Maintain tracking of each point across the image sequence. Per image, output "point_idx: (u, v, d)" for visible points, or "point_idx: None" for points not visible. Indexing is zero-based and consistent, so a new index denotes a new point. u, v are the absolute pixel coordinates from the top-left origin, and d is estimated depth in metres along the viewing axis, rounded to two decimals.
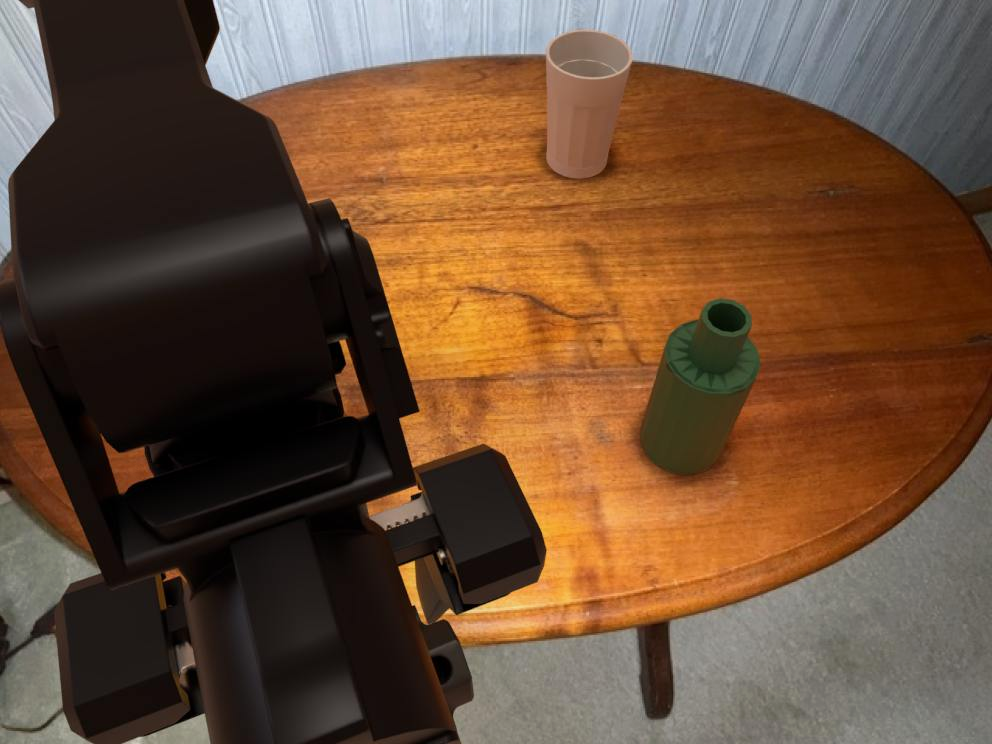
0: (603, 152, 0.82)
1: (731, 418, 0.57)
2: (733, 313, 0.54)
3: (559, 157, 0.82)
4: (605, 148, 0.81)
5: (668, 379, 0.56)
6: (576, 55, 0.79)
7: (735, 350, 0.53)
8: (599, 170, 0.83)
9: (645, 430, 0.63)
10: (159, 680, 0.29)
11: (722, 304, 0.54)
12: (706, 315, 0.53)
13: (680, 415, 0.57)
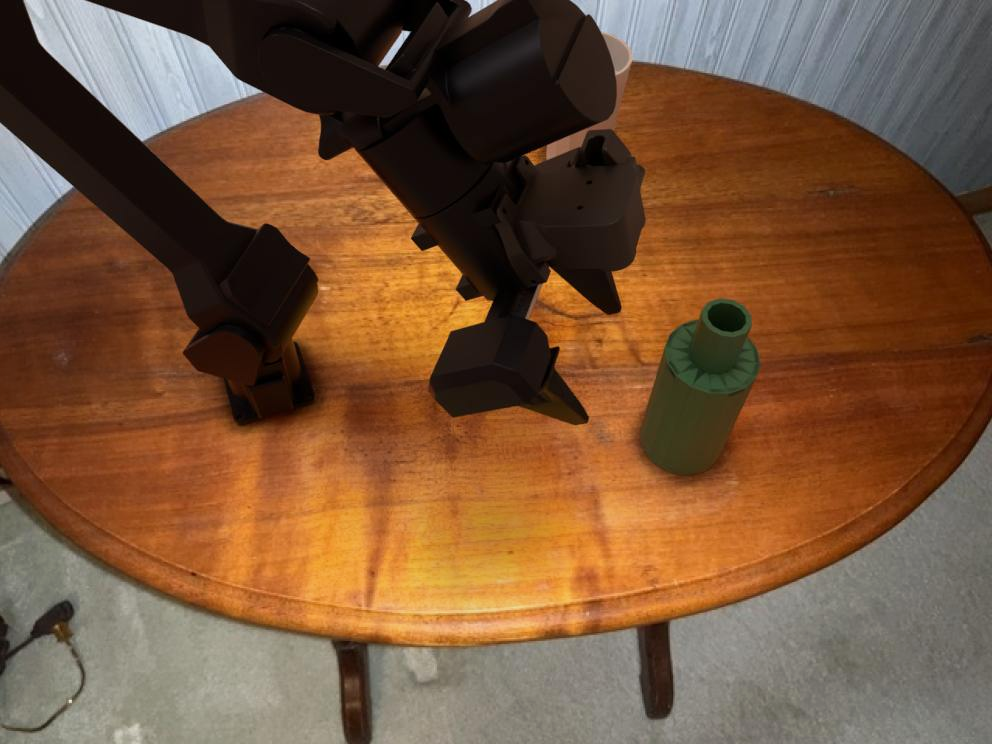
0: None
1: (731, 418, 0.57)
2: (733, 313, 0.54)
3: None
4: None
5: (668, 379, 0.56)
6: None
7: (735, 350, 0.53)
8: None
9: (645, 430, 0.63)
10: (513, 322, 0.42)
11: (722, 304, 0.54)
12: (706, 315, 0.53)
13: (680, 415, 0.57)
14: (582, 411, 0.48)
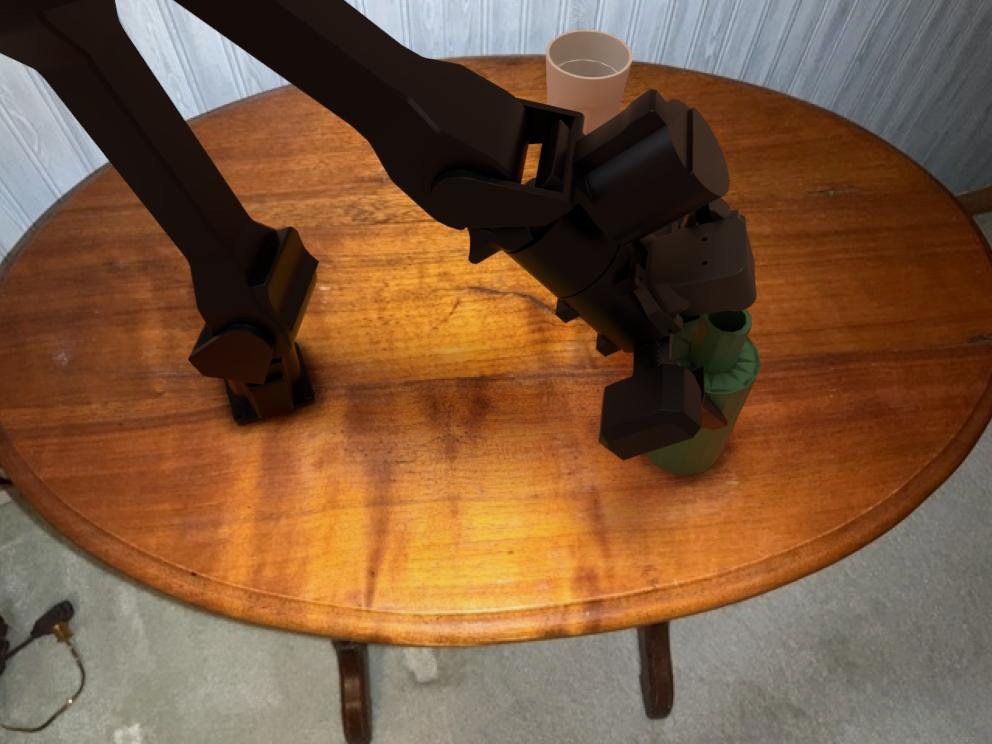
0: None
1: (731, 418, 0.57)
2: (734, 313, 0.54)
3: None
4: None
5: None
6: (576, 55, 0.79)
7: (735, 350, 0.53)
8: None
9: None
10: (666, 370, 0.49)
11: None
12: (706, 315, 0.53)
13: None
14: (722, 416, 0.56)
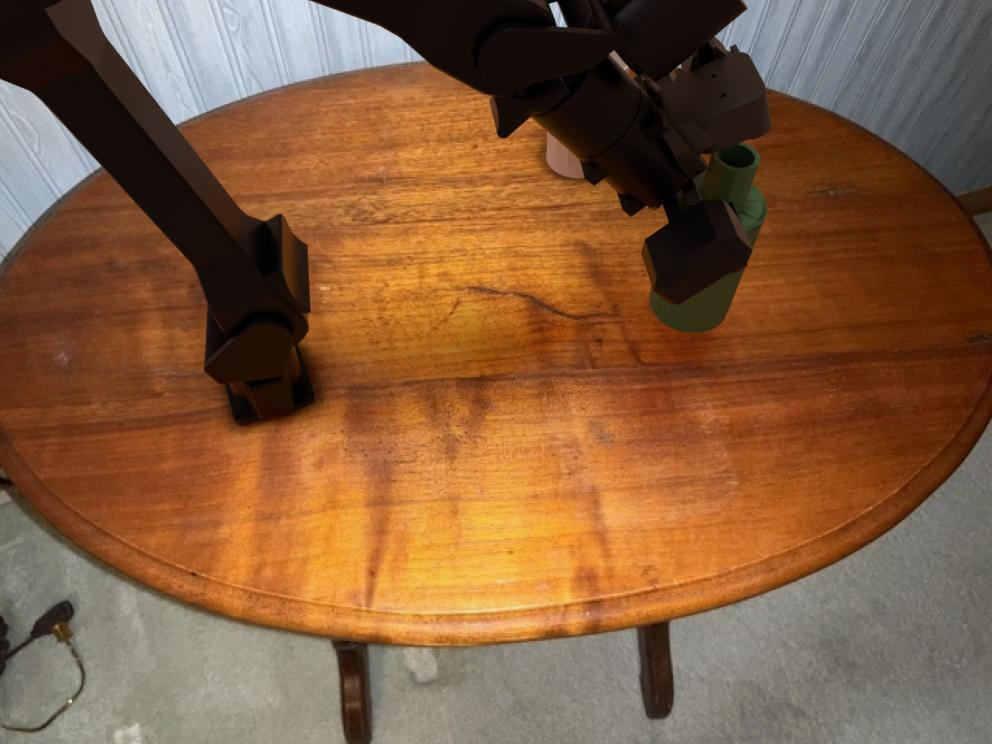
0: None
1: None
2: (738, 154, 0.56)
3: (559, 157, 0.82)
4: None
5: None
6: None
7: (748, 186, 0.56)
8: None
9: (659, 297, 0.65)
10: (707, 204, 0.50)
11: None
12: (718, 157, 0.55)
13: None
14: None
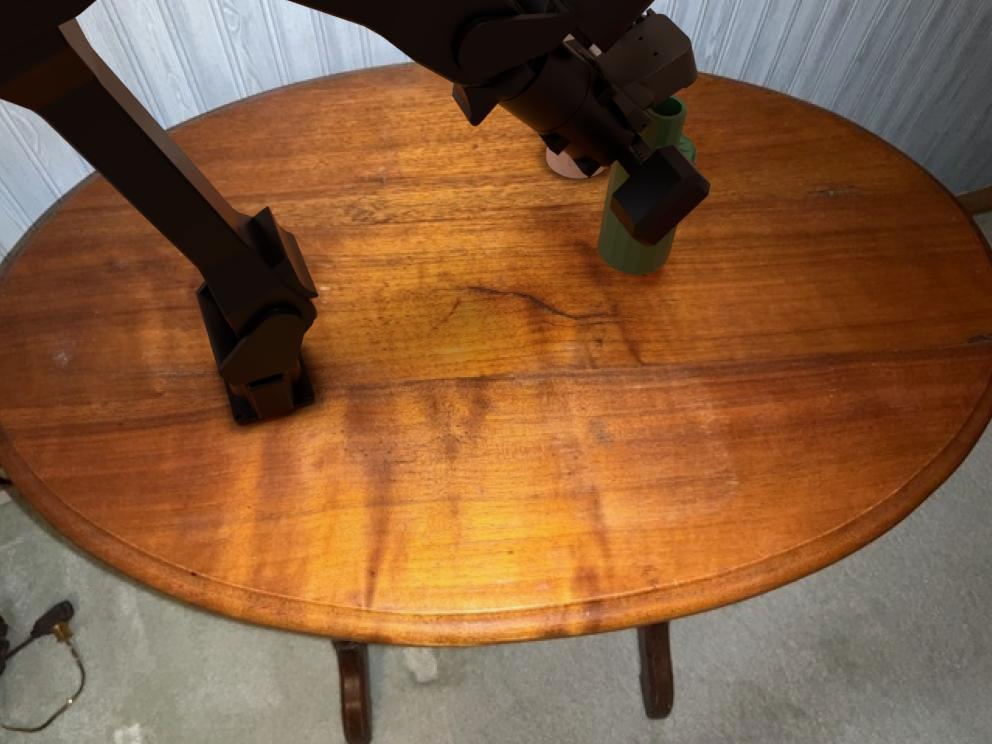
0: None
1: None
2: (664, 104, 0.63)
3: (559, 157, 0.82)
4: None
5: None
6: None
7: (680, 131, 0.63)
8: (599, 170, 0.83)
9: (612, 247, 0.71)
10: (663, 152, 0.56)
11: None
12: (651, 110, 0.61)
13: None
14: None
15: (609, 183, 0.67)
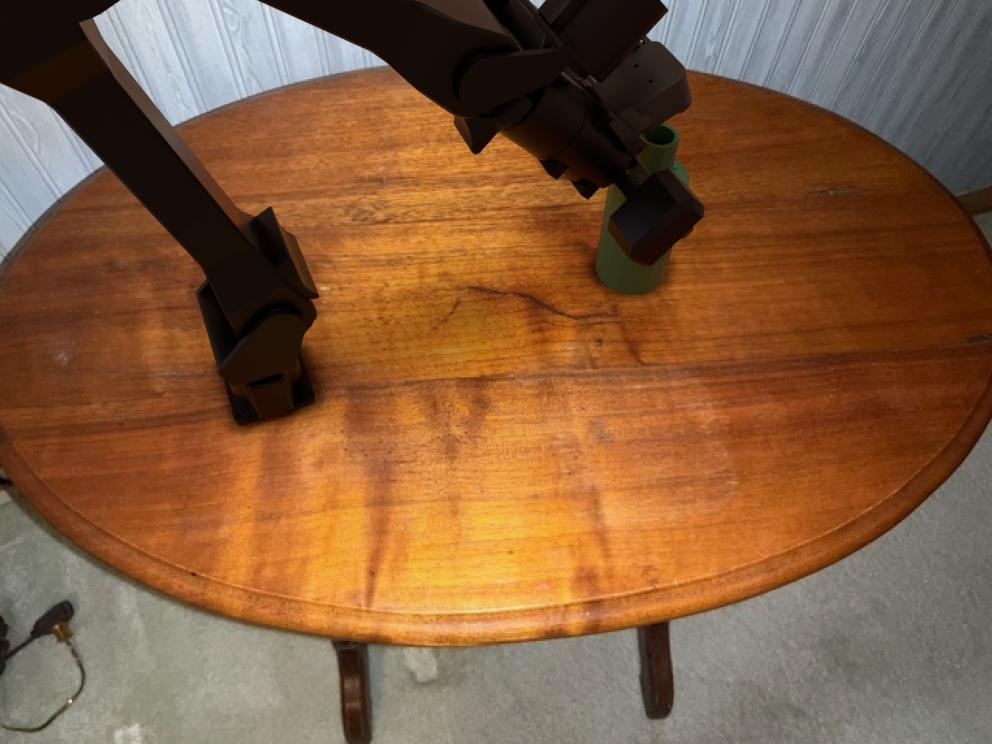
0: None
1: None
2: (657, 132, 0.65)
3: None
4: None
5: None
6: None
7: (673, 158, 0.65)
8: None
9: (609, 268, 0.73)
10: (659, 176, 0.58)
11: None
12: None
13: None
14: None
15: (605, 207, 0.70)
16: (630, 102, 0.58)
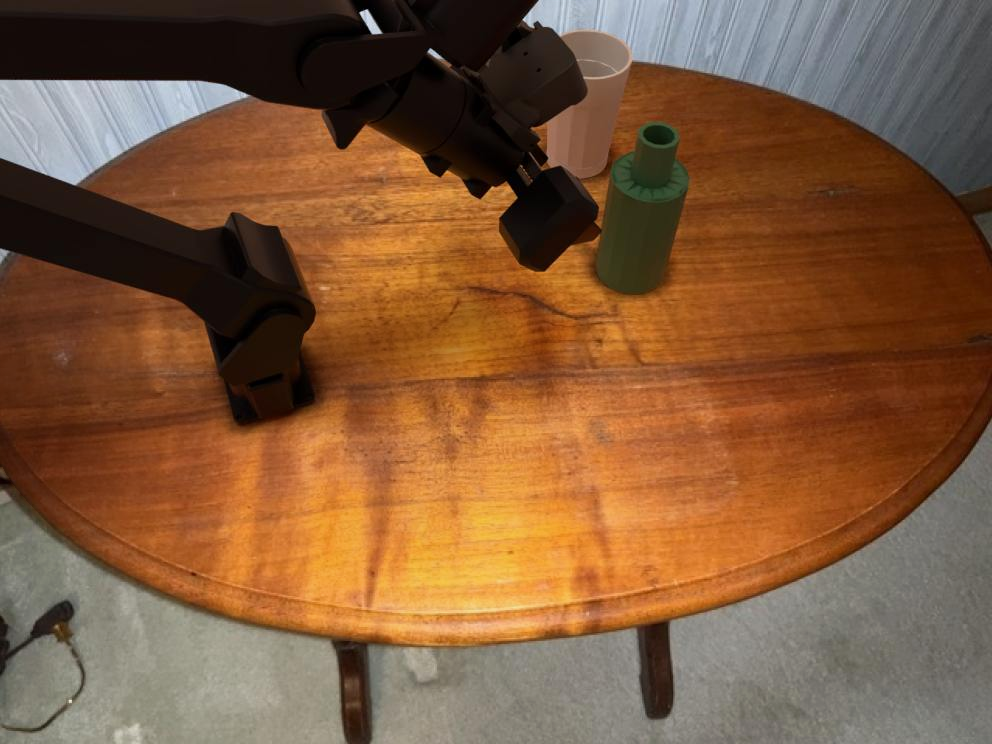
0: (603, 152, 0.82)
1: (679, 220, 0.69)
2: (657, 132, 0.65)
3: (559, 157, 0.82)
4: (605, 148, 0.81)
5: (628, 207, 0.66)
6: (576, 55, 0.79)
7: (673, 158, 0.65)
8: (599, 170, 0.83)
9: (609, 268, 0.73)
10: (549, 173, 0.53)
11: (648, 128, 0.65)
12: (644, 139, 0.63)
13: (645, 234, 0.68)
14: (596, 224, 0.61)
15: (605, 207, 0.70)
16: (516, 93, 0.53)
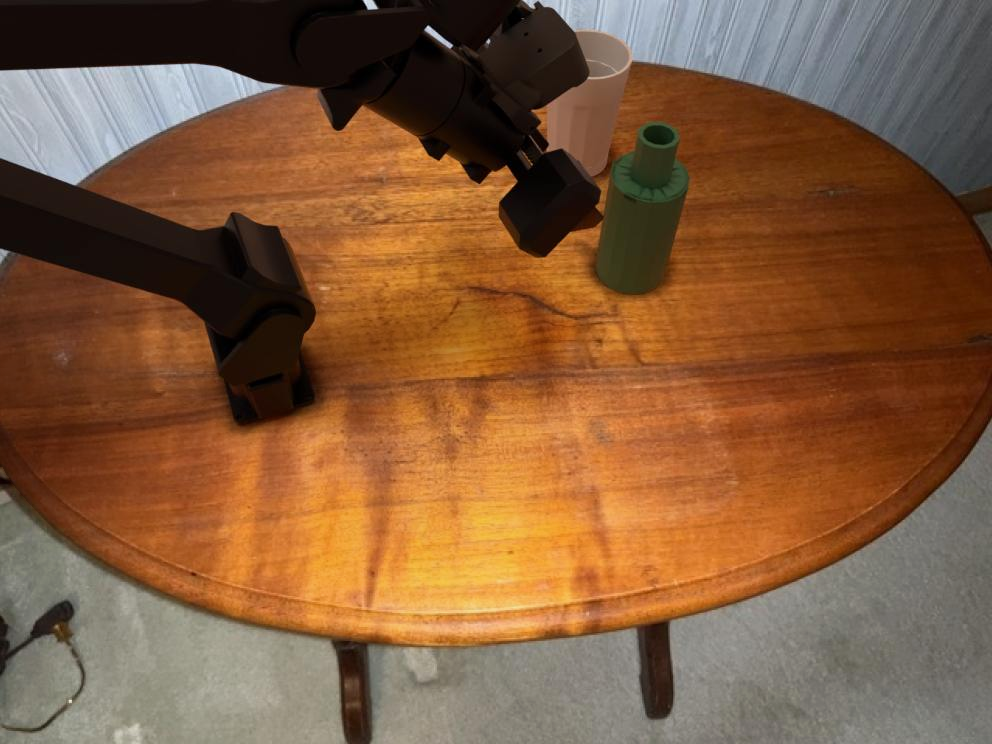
0: (603, 152, 0.82)
1: (679, 220, 0.69)
2: (657, 132, 0.65)
3: None
4: (605, 148, 0.81)
5: (628, 207, 0.66)
6: None
7: (673, 158, 0.65)
8: (599, 170, 0.83)
9: (609, 268, 0.73)
10: (550, 156, 0.52)
11: (648, 128, 0.65)
12: (644, 139, 0.63)
13: (645, 234, 0.68)
14: (598, 210, 0.60)
15: (605, 207, 0.70)
16: (516, 74, 0.52)
